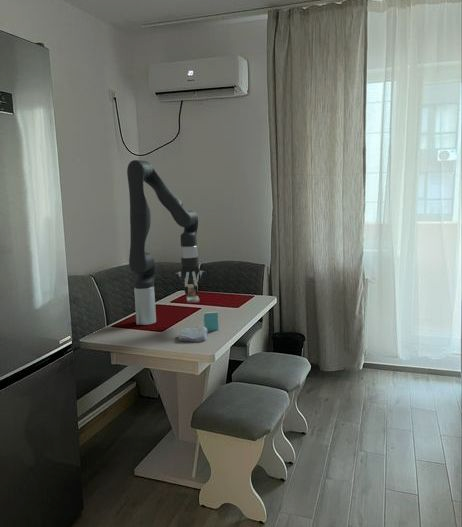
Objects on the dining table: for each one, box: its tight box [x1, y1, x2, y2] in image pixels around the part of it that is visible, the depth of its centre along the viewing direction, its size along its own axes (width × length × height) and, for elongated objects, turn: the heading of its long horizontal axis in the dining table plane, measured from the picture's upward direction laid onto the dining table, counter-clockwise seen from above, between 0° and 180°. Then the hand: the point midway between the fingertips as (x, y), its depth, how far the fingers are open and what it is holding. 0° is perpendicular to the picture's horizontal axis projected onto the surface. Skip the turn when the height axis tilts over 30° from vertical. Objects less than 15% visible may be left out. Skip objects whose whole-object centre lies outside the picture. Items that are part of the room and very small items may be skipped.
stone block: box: [178, 326, 208, 343], centre depth 189 cm, size 12×5×10 cm
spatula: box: [186, 283, 200, 303], centre depth 202 cm, size 5×18×4 cm, turn 10°
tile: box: [203, 311, 219, 332], centre depth 199 cm, size 6×2×8 cm, turn 101°
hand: (191, 294), depth 204 cm, fingers closed on spatula, 3 cm apart
